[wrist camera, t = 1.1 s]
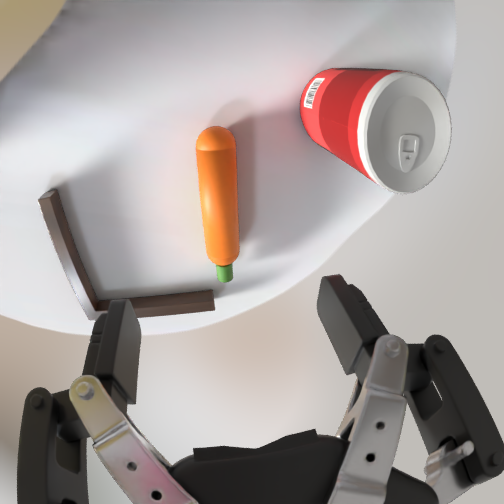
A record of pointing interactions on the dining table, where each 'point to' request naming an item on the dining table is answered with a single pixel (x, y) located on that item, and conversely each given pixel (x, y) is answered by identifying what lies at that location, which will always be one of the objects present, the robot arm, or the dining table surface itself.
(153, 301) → the corner guide
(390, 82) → the canned food
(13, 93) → the dining table surface
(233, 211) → the carrot
